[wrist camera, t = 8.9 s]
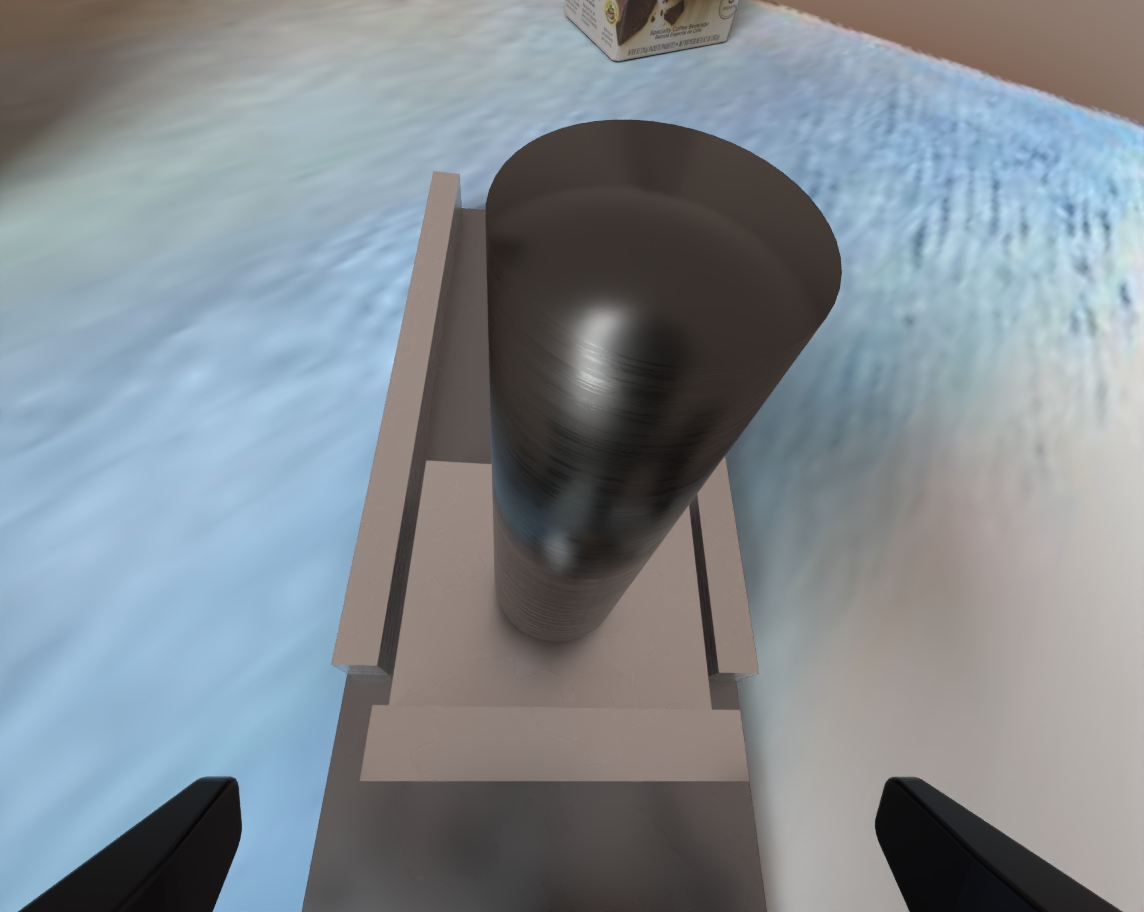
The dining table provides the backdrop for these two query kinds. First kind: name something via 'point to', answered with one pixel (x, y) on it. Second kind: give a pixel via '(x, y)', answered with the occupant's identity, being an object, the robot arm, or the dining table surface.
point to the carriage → (599, 461)
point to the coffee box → (651, 24)
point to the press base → (508, 808)
